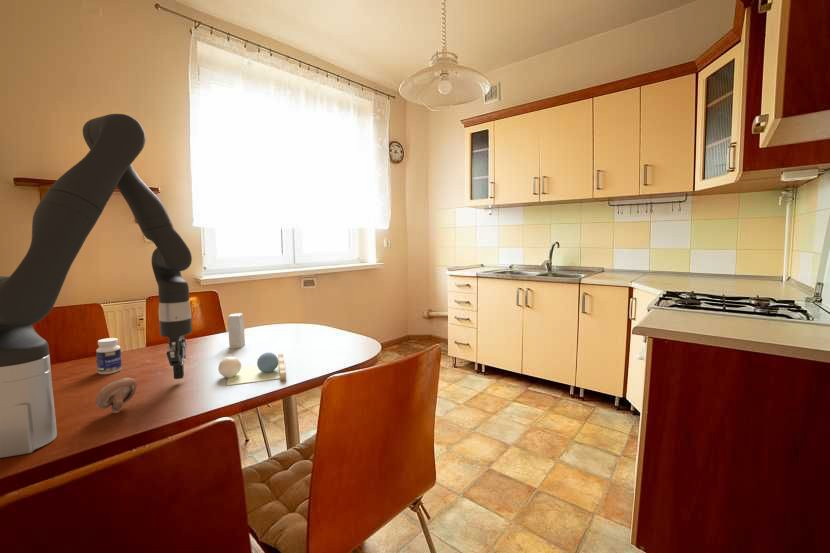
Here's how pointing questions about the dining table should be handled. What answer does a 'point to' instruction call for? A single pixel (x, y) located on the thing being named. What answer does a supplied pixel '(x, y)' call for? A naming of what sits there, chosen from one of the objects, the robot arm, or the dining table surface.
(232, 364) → the cue ball
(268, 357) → the blue ball
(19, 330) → the robot arm
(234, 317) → the skincare box
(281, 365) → the stopper strip
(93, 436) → the dining table surface
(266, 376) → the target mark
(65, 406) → the dining table surface
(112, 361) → the pill bottle
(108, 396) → the mushroom
